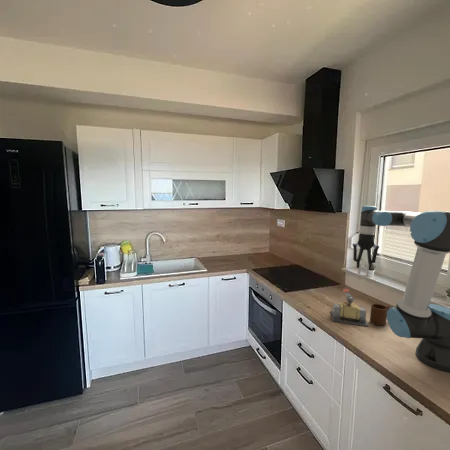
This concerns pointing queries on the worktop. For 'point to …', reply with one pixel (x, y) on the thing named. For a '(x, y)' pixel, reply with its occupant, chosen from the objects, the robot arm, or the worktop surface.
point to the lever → (348, 295)
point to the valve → (349, 314)
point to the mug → (379, 314)
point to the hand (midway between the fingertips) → (362, 273)
